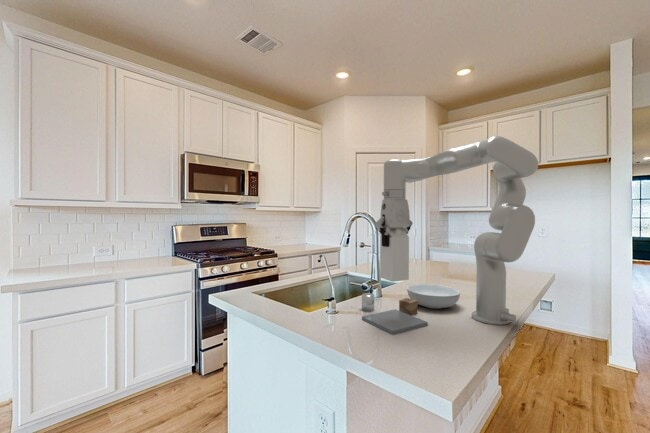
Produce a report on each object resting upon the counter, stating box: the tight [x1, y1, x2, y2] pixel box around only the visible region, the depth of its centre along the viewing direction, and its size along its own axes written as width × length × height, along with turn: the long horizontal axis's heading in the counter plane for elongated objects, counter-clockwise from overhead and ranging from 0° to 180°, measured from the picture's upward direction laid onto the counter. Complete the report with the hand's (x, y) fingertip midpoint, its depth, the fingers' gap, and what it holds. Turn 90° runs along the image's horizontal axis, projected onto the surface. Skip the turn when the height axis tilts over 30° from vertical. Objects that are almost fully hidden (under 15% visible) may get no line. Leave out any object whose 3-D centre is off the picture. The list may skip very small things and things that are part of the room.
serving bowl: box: [406, 283, 461, 310], centre depth 131 cm, size 21×21×7 cm
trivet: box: [361, 309, 429, 336], centre depth 111 cm, size 16×16×1 cm
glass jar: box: [361, 292, 375, 313], centre depth 125 cm, size 5×5×6 cm
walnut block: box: [398, 297, 419, 316], centre depth 121 cm, size 5×5×5 cm
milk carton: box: [379, 225, 410, 282], centre depth 110 cm, size 7×7×19 cm
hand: (394, 245), depth 110 cm, fingers closed on milk carton, 7 cm apart
